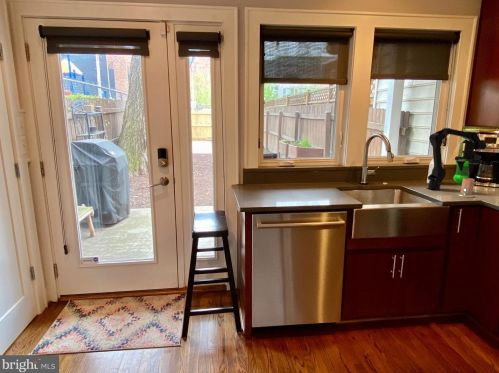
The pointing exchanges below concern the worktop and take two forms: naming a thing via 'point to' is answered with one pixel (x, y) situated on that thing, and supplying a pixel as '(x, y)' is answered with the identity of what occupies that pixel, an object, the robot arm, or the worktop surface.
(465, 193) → the silver pot lid
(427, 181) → the milk carton
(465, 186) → the terracotta pot
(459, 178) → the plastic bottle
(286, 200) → the worktop surface
